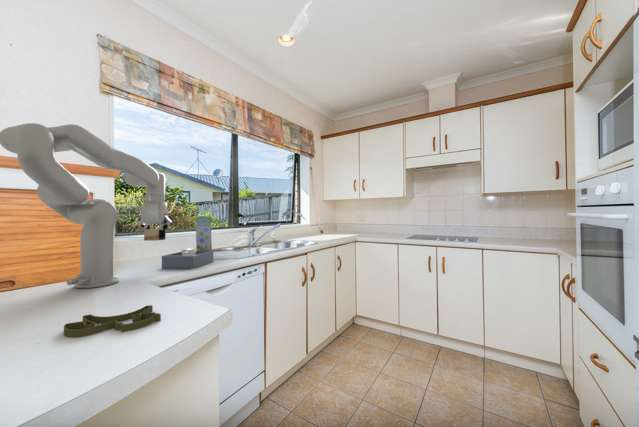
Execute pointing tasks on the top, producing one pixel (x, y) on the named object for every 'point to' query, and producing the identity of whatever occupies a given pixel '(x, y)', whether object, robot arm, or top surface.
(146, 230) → the kraft carton
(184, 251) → the steel tin
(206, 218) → the snack box
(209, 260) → the tote
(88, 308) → the top surface
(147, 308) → the cookie cutter
